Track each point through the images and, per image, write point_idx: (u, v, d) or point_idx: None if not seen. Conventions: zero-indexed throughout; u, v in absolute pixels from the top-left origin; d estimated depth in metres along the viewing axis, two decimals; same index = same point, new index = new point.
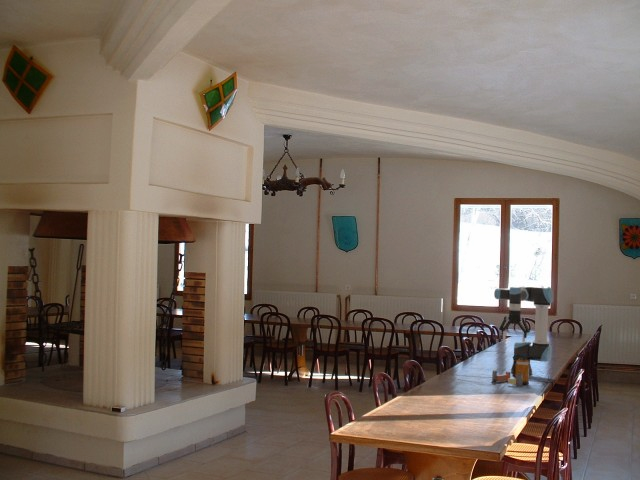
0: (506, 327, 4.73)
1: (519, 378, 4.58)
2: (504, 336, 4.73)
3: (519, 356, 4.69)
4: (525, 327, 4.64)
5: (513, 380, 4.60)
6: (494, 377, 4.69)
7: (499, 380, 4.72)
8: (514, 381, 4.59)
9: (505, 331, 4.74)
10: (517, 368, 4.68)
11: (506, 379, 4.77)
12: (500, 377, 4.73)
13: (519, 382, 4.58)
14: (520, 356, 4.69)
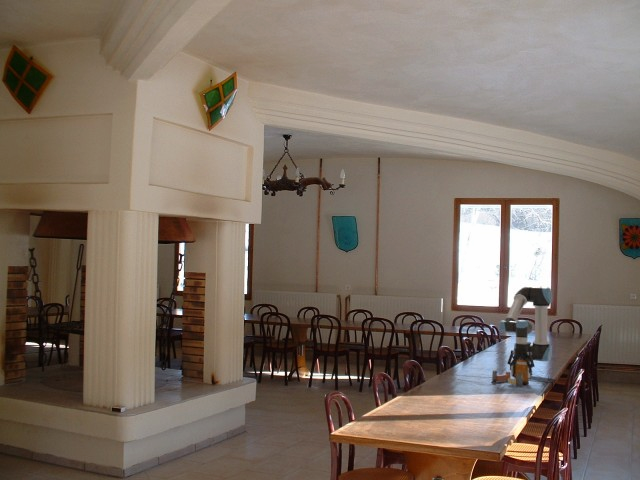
0: None
1: (519, 378, 4.58)
2: (512, 371, 4.73)
3: (519, 356, 4.69)
4: (531, 362, 4.65)
5: (513, 380, 4.60)
6: (494, 377, 4.69)
7: (499, 380, 4.72)
8: (514, 381, 4.59)
9: None
10: (517, 368, 4.68)
11: (506, 379, 4.77)
12: (500, 377, 4.73)
13: (519, 382, 4.58)
14: (520, 356, 4.69)
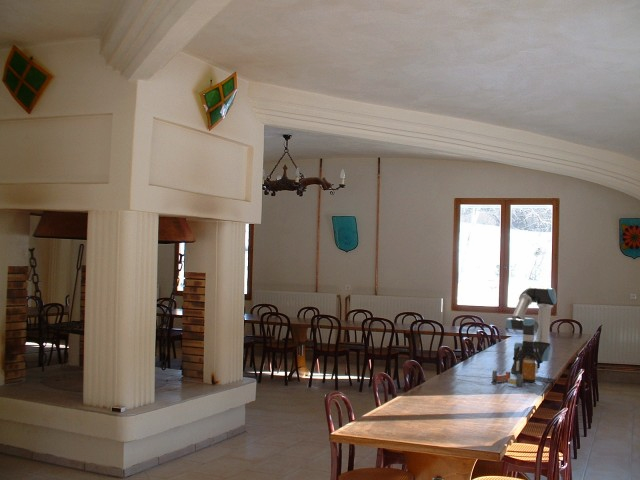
0: (519, 357, 4.83)
1: (519, 378, 4.58)
2: (518, 366, 4.83)
3: (526, 354, 4.79)
4: (538, 358, 4.74)
5: (513, 380, 4.60)
6: (494, 377, 4.69)
7: (499, 380, 4.72)
8: (514, 381, 4.59)
9: (518, 361, 4.84)
10: (524, 366, 4.77)
11: (506, 379, 4.77)
12: (500, 377, 4.73)
13: (519, 382, 4.58)
14: (527, 354, 4.79)
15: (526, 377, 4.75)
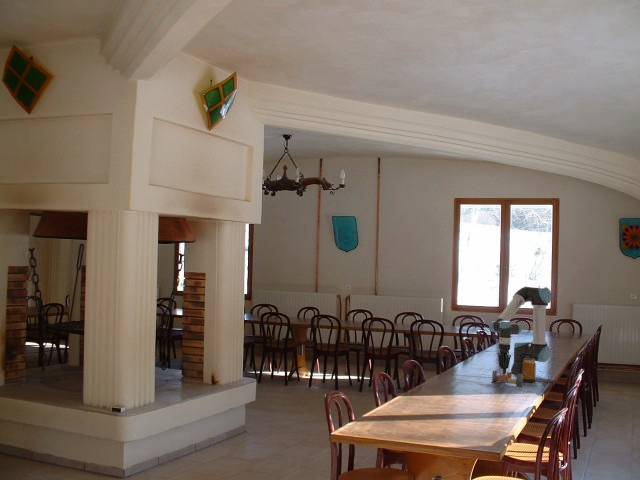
0: None
1: (519, 378, 4.58)
2: None
3: (526, 354, 4.79)
4: (505, 363, 4.74)
5: (513, 380, 4.60)
6: (494, 377, 4.69)
7: (499, 380, 4.72)
8: (514, 381, 4.59)
9: None
10: (524, 366, 4.77)
11: (507, 379, 4.76)
12: (500, 377, 4.73)
13: (519, 382, 4.58)
14: (527, 354, 4.79)
15: (526, 377, 4.75)
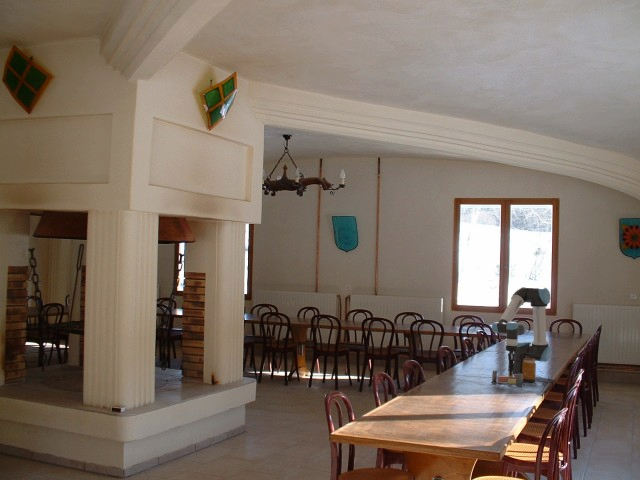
0: None
1: (519, 378, 4.58)
2: None
3: (526, 354, 4.79)
4: (509, 365, 4.68)
5: (513, 380, 4.60)
6: (494, 377, 4.69)
7: (501, 381, 4.69)
8: (514, 381, 4.59)
9: None
10: (524, 366, 4.77)
11: None
12: (502, 378, 4.69)
13: (519, 382, 4.58)
14: (527, 354, 4.79)
15: (526, 377, 4.75)
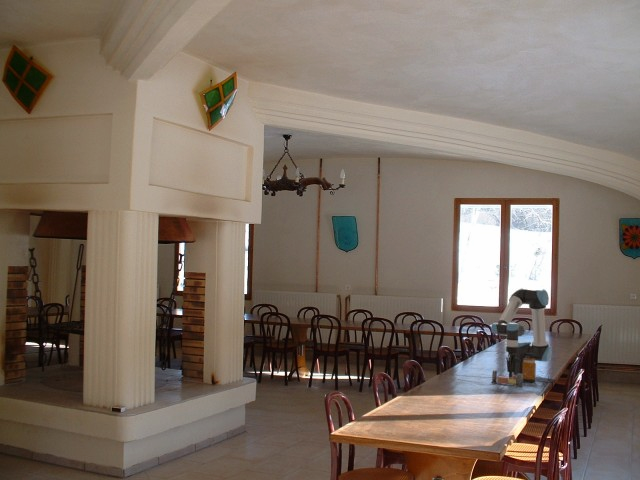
0: None
1: (519, 378, 4.58)
2: None
3: (526, 354, 4.79)
4: None
5: (513, 380, 4.60)
6: (494, 377, 4.69)
7: (499, 381, 4.67)
8: (514, 381, 4.59)
9: None
10: (524, 366, 4.77)
11: (510, 383, 4.63)
12: (501, 379, 4.67)
13: (519, 382, 4.58)
14: (527, 354, 4.79)
15: (526, 377, 4.75)
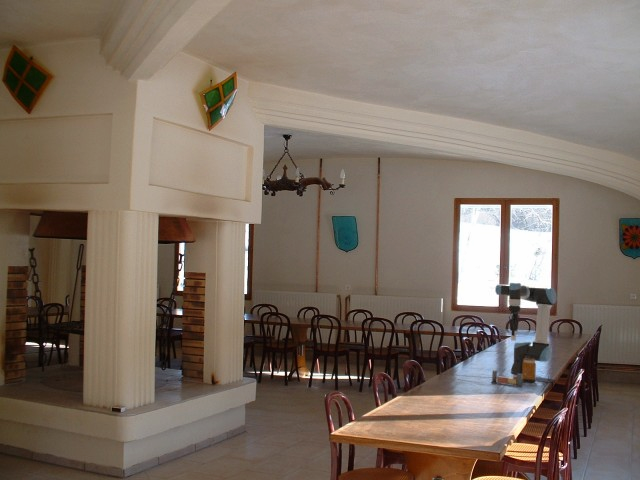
0: None
1: (519, 378, 4.58)
2: None
3: (526, 354, 4.79)
4: (510, 324, 4.73)
5: (513, 380, 4.60)
6: (494, 377, 4.69)
7: (499, 381, 4.67)
8: (514, 381, 4.59)
9: (514, 331, 4.75)
10: (524, 366, 4.77)
11: (510, 383, 4.63)
12: (501, 379, 4.67)
13: (519, 382, 4.58)
14: (527, 354, 4.79)
15: (526, 377, 4.75)
